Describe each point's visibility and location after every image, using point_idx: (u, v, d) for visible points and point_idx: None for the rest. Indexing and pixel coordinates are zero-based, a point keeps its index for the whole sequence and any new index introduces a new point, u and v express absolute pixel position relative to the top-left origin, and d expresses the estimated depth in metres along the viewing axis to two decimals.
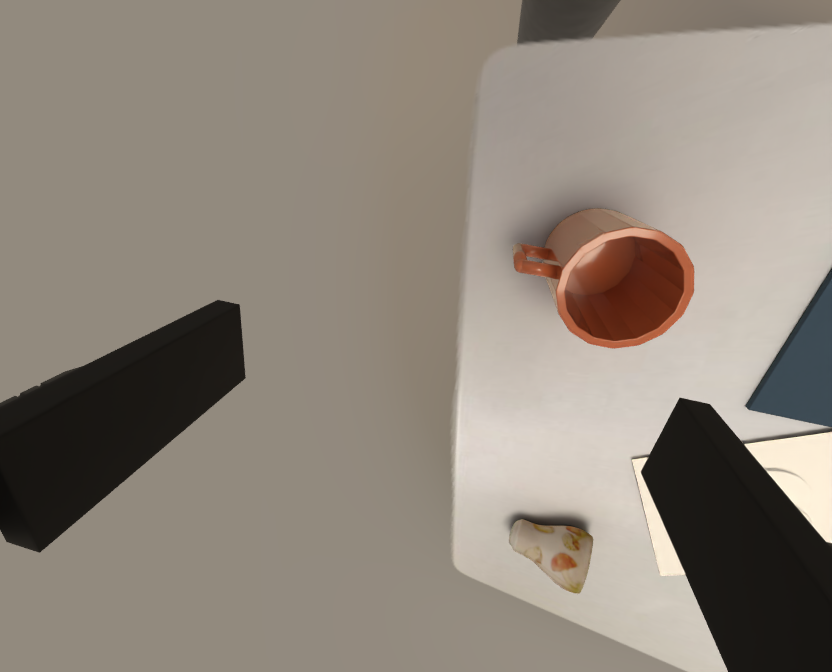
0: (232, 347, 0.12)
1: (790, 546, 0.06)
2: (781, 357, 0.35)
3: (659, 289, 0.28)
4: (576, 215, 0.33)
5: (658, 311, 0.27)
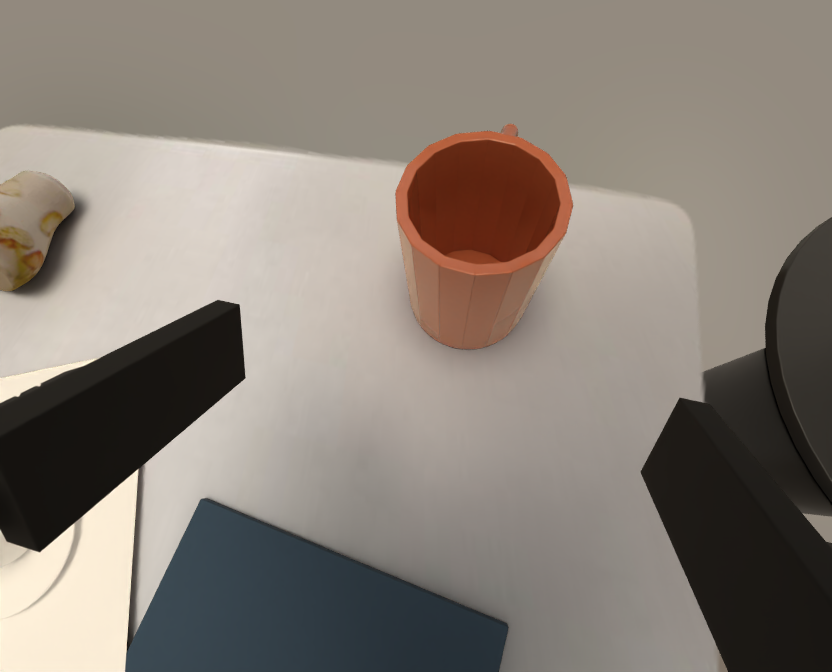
0: (232, 347, 0.12)
1: (790, 546, 0.06)
2: (284, 533, 0.24)
3: None
4: None
5: None
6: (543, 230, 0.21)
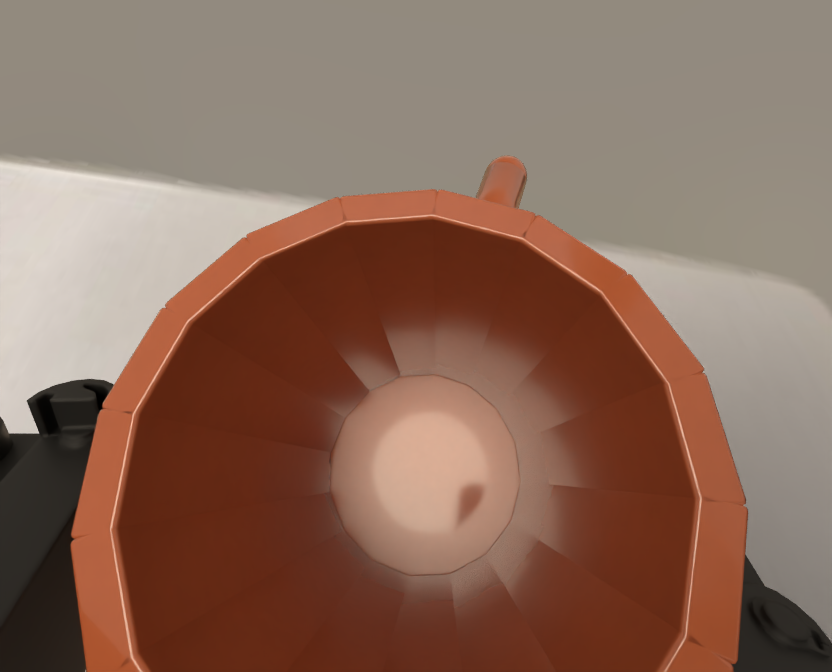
0: None
1: None
2: None
3: (337, 649, 0.07)
4: None
5: (243, 651, 0.06)
6: (596, 464, 0.07)
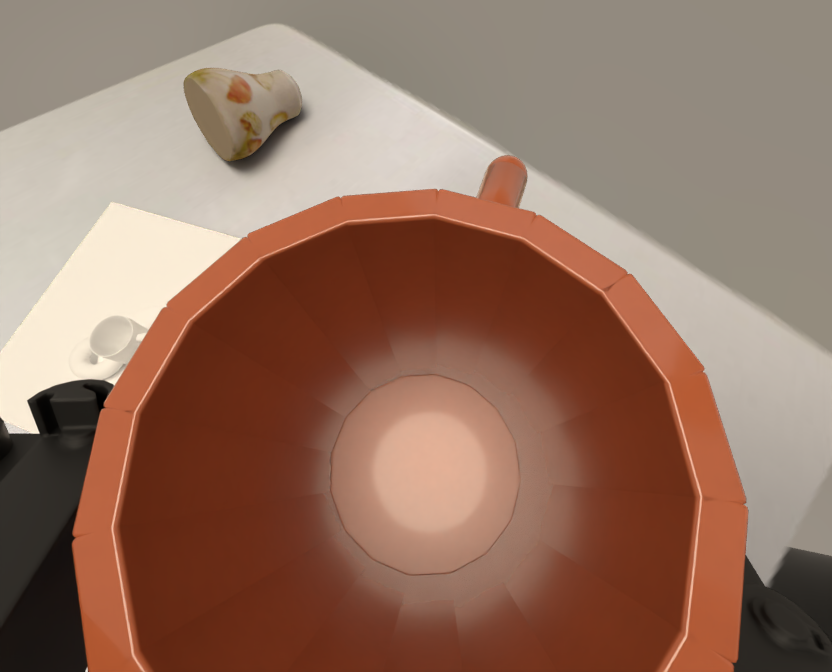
0: None
1: None
2: None
3: (338, 649, 0.07)
4: None
5: (244, 650, 0.06)
6: (596, 464, 0.07)
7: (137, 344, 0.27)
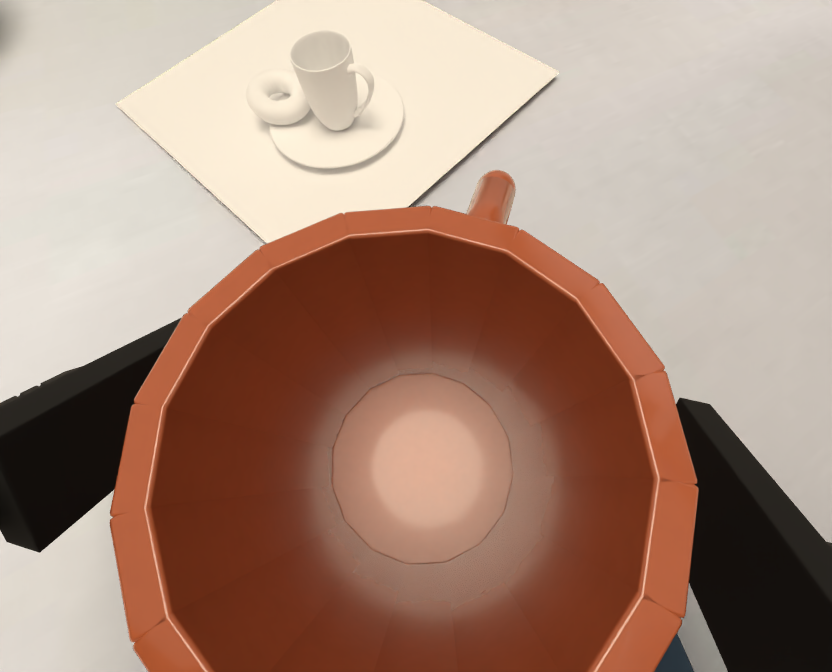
0: None
1: (790, 546, 0.06)
2: None
3: (342, 624, 0.08)
4: None
5: (259, 619, 0.06)
6: (577, 454, 0.08)
7: (345, 77, 0.19)
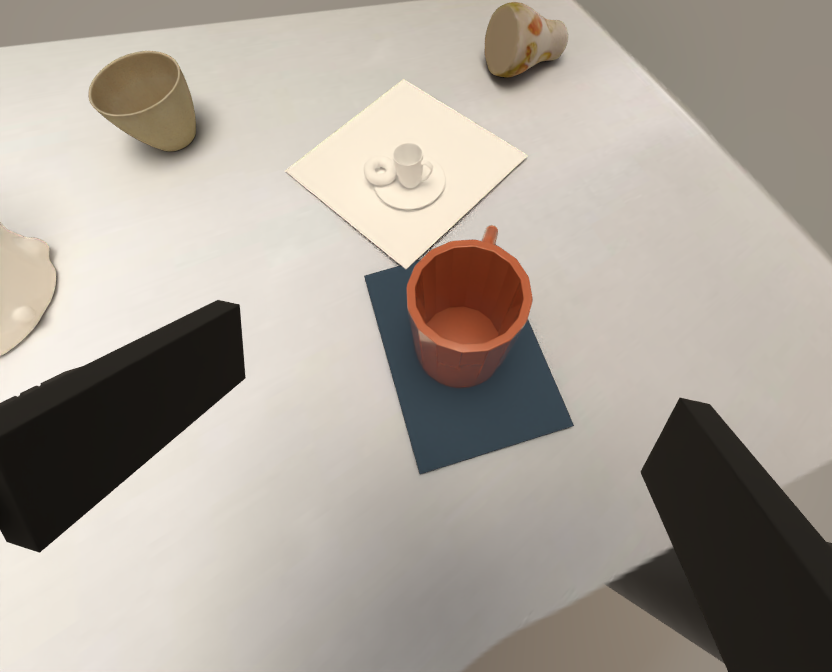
0: (232, 347, 0.12)
1: (790, 546, 0.06)
2: None
3: None
4: None
5: None
6: (514, 309, 0.28)
7: (419, 166, 0.40)
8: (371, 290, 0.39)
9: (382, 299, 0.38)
